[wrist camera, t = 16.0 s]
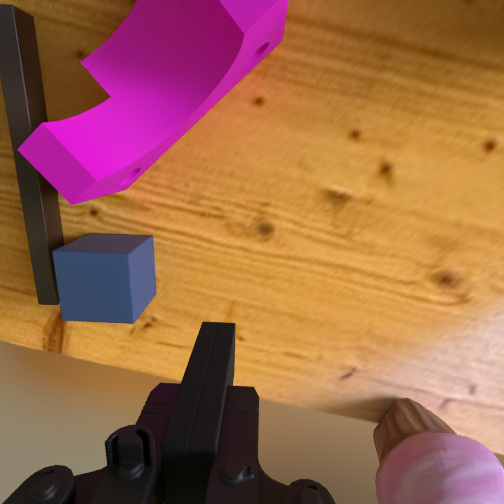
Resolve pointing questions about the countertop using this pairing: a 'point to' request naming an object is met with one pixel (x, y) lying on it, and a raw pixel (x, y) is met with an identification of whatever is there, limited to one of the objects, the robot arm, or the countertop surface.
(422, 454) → the cupcake
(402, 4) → the countertop surface
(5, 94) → the straightedge
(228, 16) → the toy block
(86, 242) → the cube
